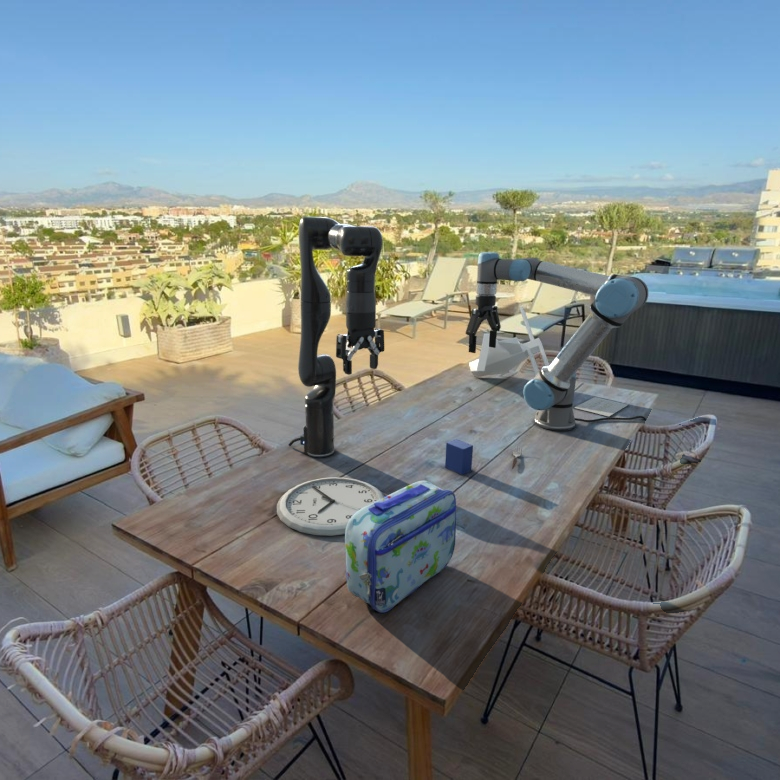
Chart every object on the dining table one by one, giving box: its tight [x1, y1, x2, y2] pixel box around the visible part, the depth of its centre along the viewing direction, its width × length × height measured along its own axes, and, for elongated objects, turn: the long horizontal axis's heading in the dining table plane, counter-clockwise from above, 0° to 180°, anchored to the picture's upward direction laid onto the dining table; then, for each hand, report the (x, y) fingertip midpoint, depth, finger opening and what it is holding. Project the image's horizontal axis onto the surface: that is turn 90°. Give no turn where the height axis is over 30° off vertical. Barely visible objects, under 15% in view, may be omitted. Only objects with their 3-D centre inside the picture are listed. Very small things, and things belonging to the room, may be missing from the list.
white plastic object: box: [468, 306, 550, 378], centre depth 259 cm, size 37×45×31 cm
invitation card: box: [573, 396, 629, 418], centre depth 226 cm, size 21×1×15 cm
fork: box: [511, 445, 523, 470], centre depth 172 cm, size 3×16×2 cm, turn 160°
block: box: [444, 438, 474, 476], centre depth 164 cm, size 5×7×9 cm
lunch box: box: [344, 480, 457, 614], centre depth 109 cm, size 26×11×21 cm, turn 135°
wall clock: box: [276, 476, 386, 537], centre depth 142 cm, size 30×2×30 cm
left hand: (360, 371), depth 137 cm, fingers open, 8 cm apart
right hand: (482, 349), depth 203 cm, fingers open, 13 cm apart
